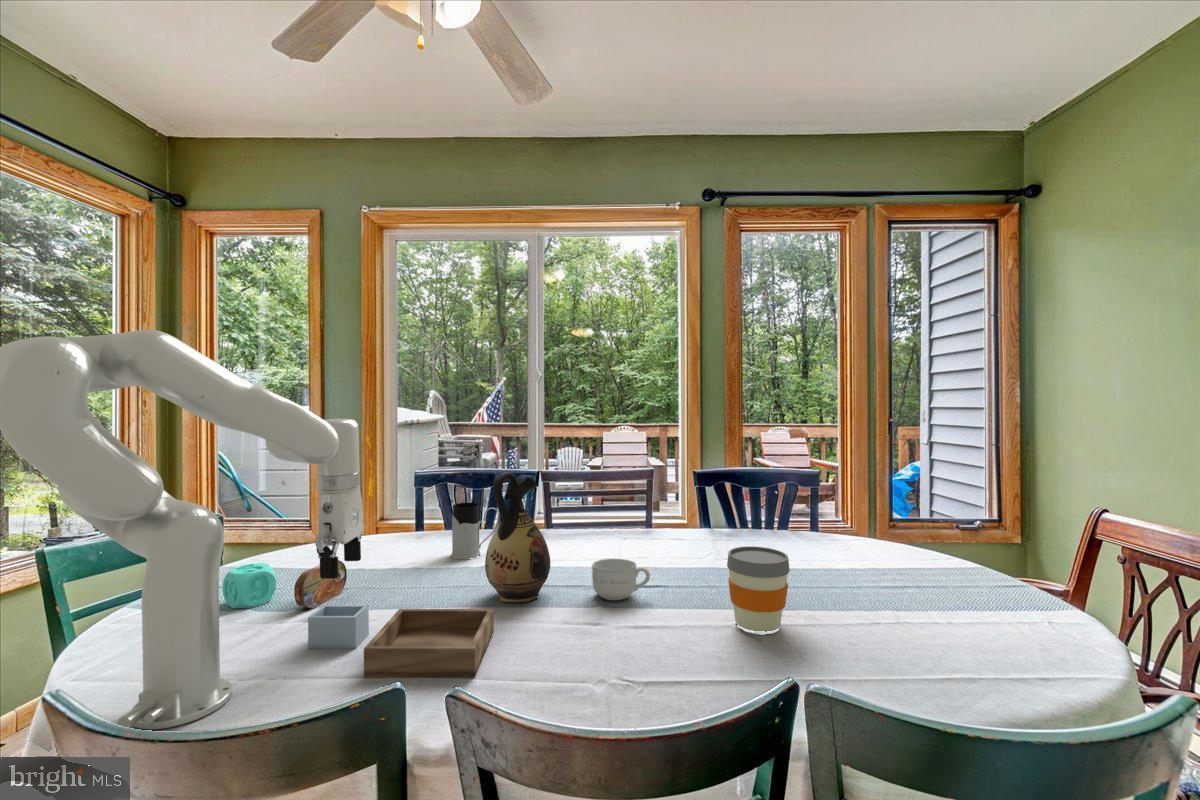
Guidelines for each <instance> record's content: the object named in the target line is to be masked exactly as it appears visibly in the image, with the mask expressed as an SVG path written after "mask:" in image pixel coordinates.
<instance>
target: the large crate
mask: <svg viewBox="0 0 1200 800" xmlns="http://www.w3.org/2000/svg"><path fill="white" fill-rule="evenodd" d="M494 629H495V627H494V608H399V609H398V610H397V611H396V612H395V613H394V614H393V616H392V617H391V618H390V619H388V621H387V622H386V623H385V624H384V626H383V627H382V628H381V629H380V630H379V631H377V633H376V634H375V636H374V637H372V639H370V641H369V642H368V643H367V645H365V646H364V648H363V678H476V676H477V674H478V671H479V669H480V666H481V664H482V662H483V660H484V657H485V655H486V652H487V650H488V648H487V647H489V645H488V644H490V643H491V641H490V639H491V640H492V638H493V636H492V634H493V632H494V633H495V631H494ZM493 635H494V634H493ZM491 637H492V638H491ZM489 642H490V643H489ZM486 649H487V650H486ZM484 654H485V655H484ZM482 659H483V660H482Z"/></svg>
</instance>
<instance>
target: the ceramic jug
mask: <svg viewBox="0 0 1200 800" xmlns="http://www.w3.org/2000/svg"><path fill="white" fill-rule="evenodd" d="M507 481H508V482H509V487H508V489H507V491H506V494H505V495H504V494H503V491H502V487H503V486H502V485H503V484H504V483H505V482H507ZM537 486H538V485H537V482H536V480H534V478H532V477H530V476H527V475H526V476H525V477H521V476H518V477H517V476H516V475H515V474H513V473H512V472H510V471H509V472H507V471H503V472H500V473H498V474H496V476H495V477H494V479H493V484H492V491H493V497H494V499H495V503H496V505H497V510H498V512H499V520H500V522H498V526H497V528H496V530H495V532H494V533H493V534H492V535H491V539H490V541H489V543H488V546H487V549H486V553H485V554H486V555H485V559H484V561H485V562H484V570H485V575H486V578H487V581H488V583H489V584H490V585H491V587H492V588H494V590H495V591H496V592H497V594H498V595H499V599H500V601H501V600H502V601H501V602H503V601H504V602H503V603H527V602H528V603H529V602H531V600H532V601H534V599H535V600H537V599H536V598H537V597H538V596H539V597H540V595H539V593H540V591H541V590H542V587H543V585H544V584H545V583H546V582H547V579H548V578H549V573H550V572H551V571H550V570H551V556H550V551H549V547H548V544H547V541H546V539H545V537H544V536H543V533H542V531H541V530H540V529H539V527H538V526H537V524H536V522H535V521H534V520H533V518H532V517H531V516H530V515H529V514H528V512H527V510H526V508H525V506H524V503H523V498H524V496H526V495H527V494H528V493H530V492H531V491H532V490H534V489H535V488H536V487H537ZM506 500H507V501H509V502H508V507H507V506H506V505H507V504H506Z"/></svg>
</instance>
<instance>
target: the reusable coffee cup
mask: <svg viewBox="0 0 1200 800" xmlns="http://www.w3.org/2000/svg"><path fill="white" fill-rule="evenodd" d="M789 561H790V560H789V555H788V554H787V553H785V552H784V551H781V550H779V549H774V548H771V547H763V546H738V547H734V548H732V549H729V551H728V553H727V563H726V567H727V569H728V573H729V577H728V578H727V581H728V588H729V597H730V601H731V603H732V606H733V614H734V615H733V616H734V621H735V622H736V623H737V624H738V625H739V626H741V627H743V628H745V629H748V630H753V631H765V632H767V631H773V630H776V629H778V628H779V627H780V628H781V625H782V624H781V623H782V616H783V609H784V608H785V607H786V603H787V596H788V589H789V583H788V582H787V581H788V575H789V573H790V571H791V570H790V562H789ZM736 623H735V624H736Z"/></svg>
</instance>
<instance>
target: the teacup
mask: <svg viewBox="0 0 1200 800" xmlns="http://www.w3.org/2000/svg"><path fill="white" fill-rule="evenodd" d="M637 566H638V564H637V563H636V561H632V560H630V559H626V558H625V559H624V558H605V559H603V558H602V559H598V560H596V561H593V562H592V564H591V567H592V587H593V590H594V592H595V593H596V594H597V595H598V596H600V597H601V599H603V598H604V600H608V601H623V600H626V599H628V598H629V597H630V596H631V595H632V594H634V592H637V591H638V590H639V588H641V587H644V586H645V585H647V583H648V582H649V581H650V579H651V573H650V571H649V569H648V568H647V567H645V566H639V567H637ZM640 572H643V573H644V574H645V579H644V580H642V581H640V582H637V577H638V576H639V573H640ZM625 598H626V599H625ZM622 599H623V600H622Z"/></svg>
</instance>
